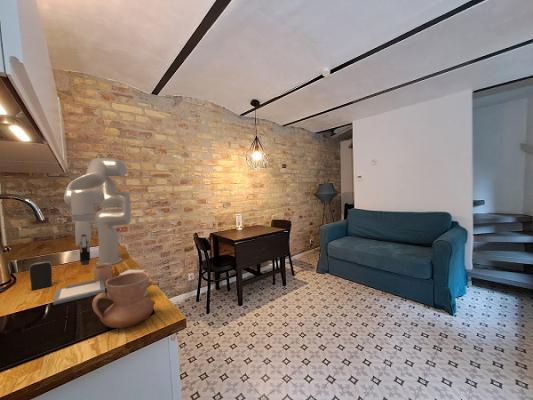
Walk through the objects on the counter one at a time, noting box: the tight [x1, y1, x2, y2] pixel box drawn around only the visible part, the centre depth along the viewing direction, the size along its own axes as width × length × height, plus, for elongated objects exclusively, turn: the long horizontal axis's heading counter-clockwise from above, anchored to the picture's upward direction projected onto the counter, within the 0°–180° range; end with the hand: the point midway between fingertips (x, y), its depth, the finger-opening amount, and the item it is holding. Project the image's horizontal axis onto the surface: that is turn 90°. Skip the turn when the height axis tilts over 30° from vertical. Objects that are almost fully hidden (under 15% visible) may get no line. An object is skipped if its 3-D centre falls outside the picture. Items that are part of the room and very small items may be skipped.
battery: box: [28, 260, 53, 291], centre depth 100 cm, size 7×4×11 cm, turn 132°
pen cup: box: [93, 264, 113, 282], centre depth 109 cm, size 7×7×6 cm
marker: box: [78, 241, 91, 266], centre depth 97 cm, size 4×4×10 cm
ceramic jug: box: [91, 272, 158, 329], centre depth 74 cm, size 18×14×14 cm
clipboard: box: [52, 279, 106, 306], centre depth 95 cm, size 14×16×2 cm
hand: (85, 259), depth 98 cm, fingers closed on marker, 3 cm apart
